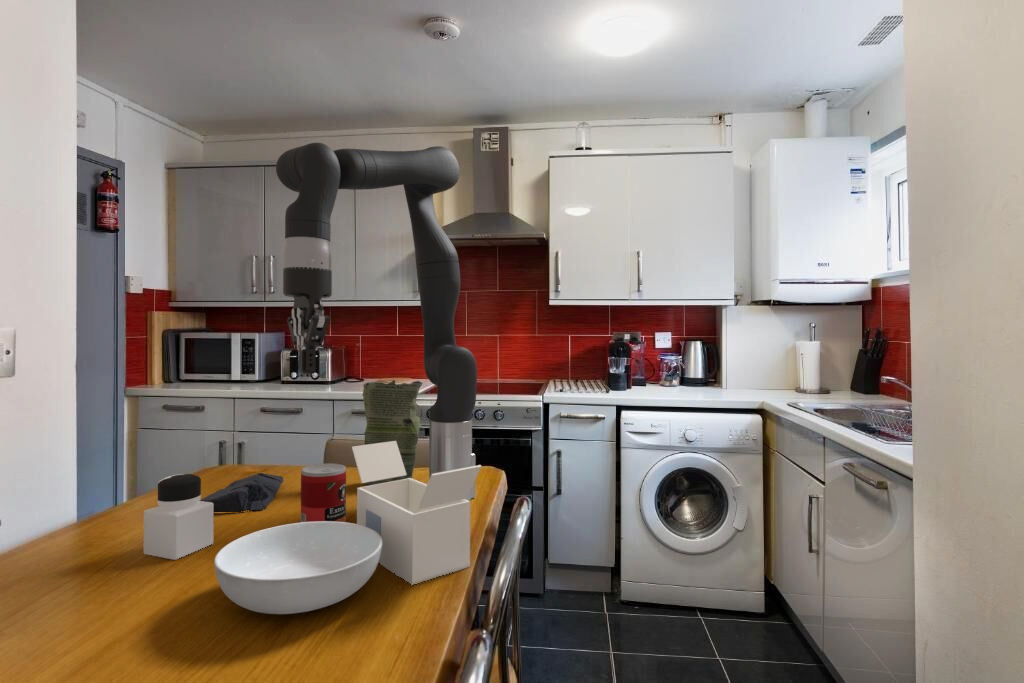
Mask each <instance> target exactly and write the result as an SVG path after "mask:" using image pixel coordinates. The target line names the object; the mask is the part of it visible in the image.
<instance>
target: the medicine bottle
mask: <svg viewBox="0 0 1024 683" xmlns="http://www.w3.org/2000/svg"><path fill="white" fill-rule="evenodd" d="M201 499H202V477H200V476H199V475H196V474H193V473H181V474H180V473H179V474H173V475H169V476H165V477H164V478H162V479H160V480H159V481H158V482H157V506H154V507H152V508H148V509H145V510H144V511H143V554H144V555H146V556H151V555H152V557H156V556H157V557H156V558H161V557H162V559H168V560H172V561H173V560H174V561H176V560H179V558H180V559H181V557H182V558H184V557H186V555H187V556H189V555H191V553H192V554H194V553H196V552H198V550H199V551H201V550H203V549H206V548H208V547H210V546H209V545H211V544H212V545H214V523H215V522H214V519H215V518H214V504H213V503H211V502H204V501H199V500H201ZM212 545H211V546H212ZM207 546H208V547H207ZM205 547H206V548H205ZM202 548H203V549H202ZM200 549H201V550H200ZM195 551H196V552H195ZM193 552H194V553H193ZM188 554H189V555H188Z"/></svg>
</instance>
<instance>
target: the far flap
mask: <svg viewBox="0 0 1024 683" xmlns="http://www.w3.org/2000/svg"><path fill="white" fill-rule="evenodd" d="M351 450H352V453H353V458H354V461H355V465H356V468H357V472H358V476H359V479H360V483H361V484H366V483H367V482H372V481H378V480H383V479H389V478H395V477H400V476H406V475H407V474H406V471H405V468H404V465H403V461H402V458H401V455H400V452H399V449H398V445H397V442H396V441H391V442H383V443H375V444H368V445H365V444H362V445H360V444H359V445H355V446H351Z"/></svg>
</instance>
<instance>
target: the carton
mask: <svg viewBox="0 0 1024 683" xmlns="http://www.w3.org/2000/svg"><path fill="white" fill-rule="evenodd" d="M427 484H428V483H424V482H421V481H420V480H416V479H415V478H413V477H412V478H407V479H402V480H396V481H391V482H386V483H380V484H375V485H369V486H368V485H364V486H360V487H356V524H358V525H362V526H365V527H368V528H370V529H372V530H374V531H376V532H377V533H378V534H379V535H380V536H381V538H382V550H381V555H380V559H379V562H378V564H379V563H380V565H381V566H382V567H384V568H385V569H386V570H388V571H390V572H391V573H393V574H394V573H395V574H394V575H396V576H397V577H398V576H399V577H398V578H400V577H401V578H403V579H404V580H406V581H408V582H409V583H411V584H412V585H413V584H416V583H420V582H422V581H426V580H429V579H432V578H435V579H437V578H436V577H438V576H441V577H443V576H442V575H444V576H447V575H449V573H450V574H452V572H453V573H456V572H459V571H461V570H464V569H468V568H470V567H471V501H470V500H469V501H468V500H466V499H463V500H459V501H455V502H450V503H446V504H442V505H437V506H433V507H429V508H425V509H420V510H418V509H417V508H418V505H419V503H420V501H421V498H422V496H423V493H424V491H425V488H426V486H427ZM446 574H447V575H446ZM401 578H400V579H401ZM438 578H439V577H438ZM403 579H402V580H403ZM404 580H403V581H404ZM432 580H433V579H432ZM406 581H405V582H406ZM429 581H430V580H429ZM426 582H427V581H426ZM409 583H408V584H409ZM420 584H421V583H420ZM412 585H411V586H412Z"/></svg>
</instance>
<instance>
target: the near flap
mask: <svg viewBox="0 0 1024 683" xmlns="http://www.w3.org/2000/svg"><path fill="white" fill-rule="evenodd" d="M481 468H482V465H481V464H478V465H475V466H472V467H466V468H461V469H456V470H450V471H445V472H439V473H434V474H431V476H430V479H429V478H428V481H427V483H426V484H427V486H426V488H425V491H424V493H423V496H422V498H421V501H420V503H419V505H418V508H417V509H418V510H420V509H425V508H429V507H433V506H437V505H442V504H446V503H450V502H455V501H459V500H463V499H467V496H468V494H469V492H470V490H471V488H472V486H473V484H474V481H475V482H476V479H477V477H478V475H479V473H480V470H481Z"/></svg>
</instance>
